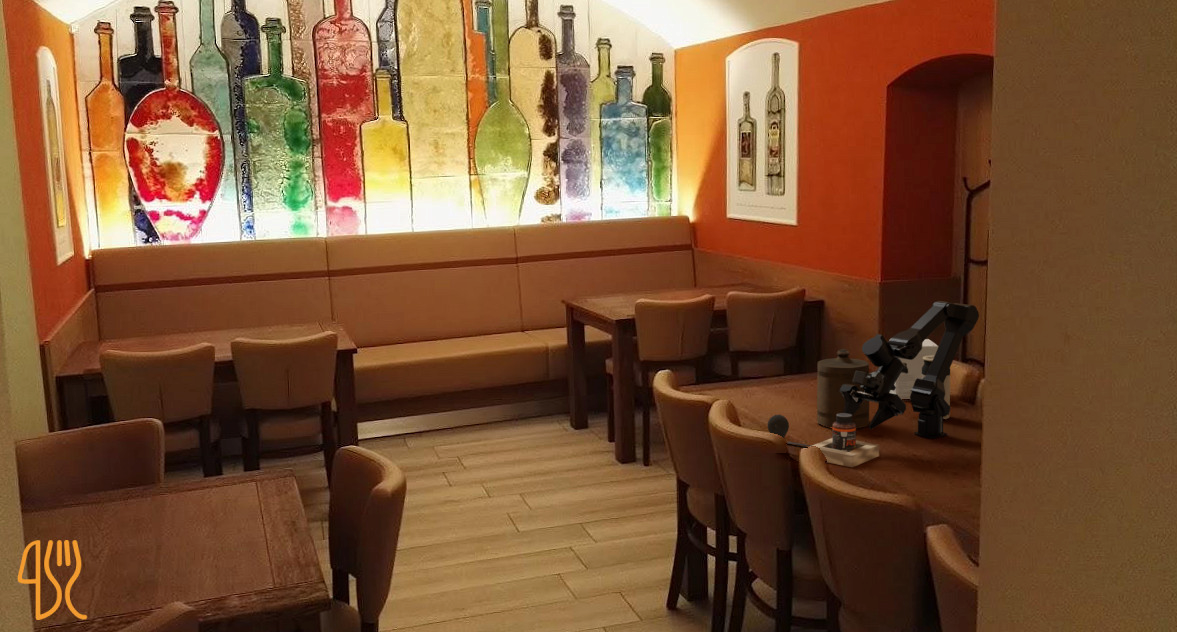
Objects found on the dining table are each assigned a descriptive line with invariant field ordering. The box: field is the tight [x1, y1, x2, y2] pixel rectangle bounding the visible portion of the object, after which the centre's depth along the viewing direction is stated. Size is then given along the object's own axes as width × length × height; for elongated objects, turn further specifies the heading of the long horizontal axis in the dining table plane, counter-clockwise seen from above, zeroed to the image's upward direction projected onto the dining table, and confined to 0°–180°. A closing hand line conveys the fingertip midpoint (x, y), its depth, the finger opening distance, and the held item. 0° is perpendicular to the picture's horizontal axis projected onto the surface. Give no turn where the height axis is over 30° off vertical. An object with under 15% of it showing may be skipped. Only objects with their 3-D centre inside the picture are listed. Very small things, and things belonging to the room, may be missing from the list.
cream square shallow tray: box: [809, 437, 880, 468], centre depth 266 cm, size 13×13×3 cm
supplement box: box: [889, 338, 939, 399], centre depth 330 cm, size 13×13×18 cm
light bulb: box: [767, 414, 790, 439], centre depth 273 cm, size 6×6×10 cm
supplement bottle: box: [831, 413, 857, 452], centre depth 266 cm, size 6×6×11 cm
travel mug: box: [922, 355, 951, 420], centre depth 302 cm, size 8×8×18 cm
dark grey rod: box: [787, 441, 812, 448], centre depth 277 cm, size 12×1×1 cm, turn 49°
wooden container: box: [816, 348, 870, 430], centre depth 299 cm, size 15×15×22 cm
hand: (856, 424), depth 268 cm, fingers open, 9 cm apart
